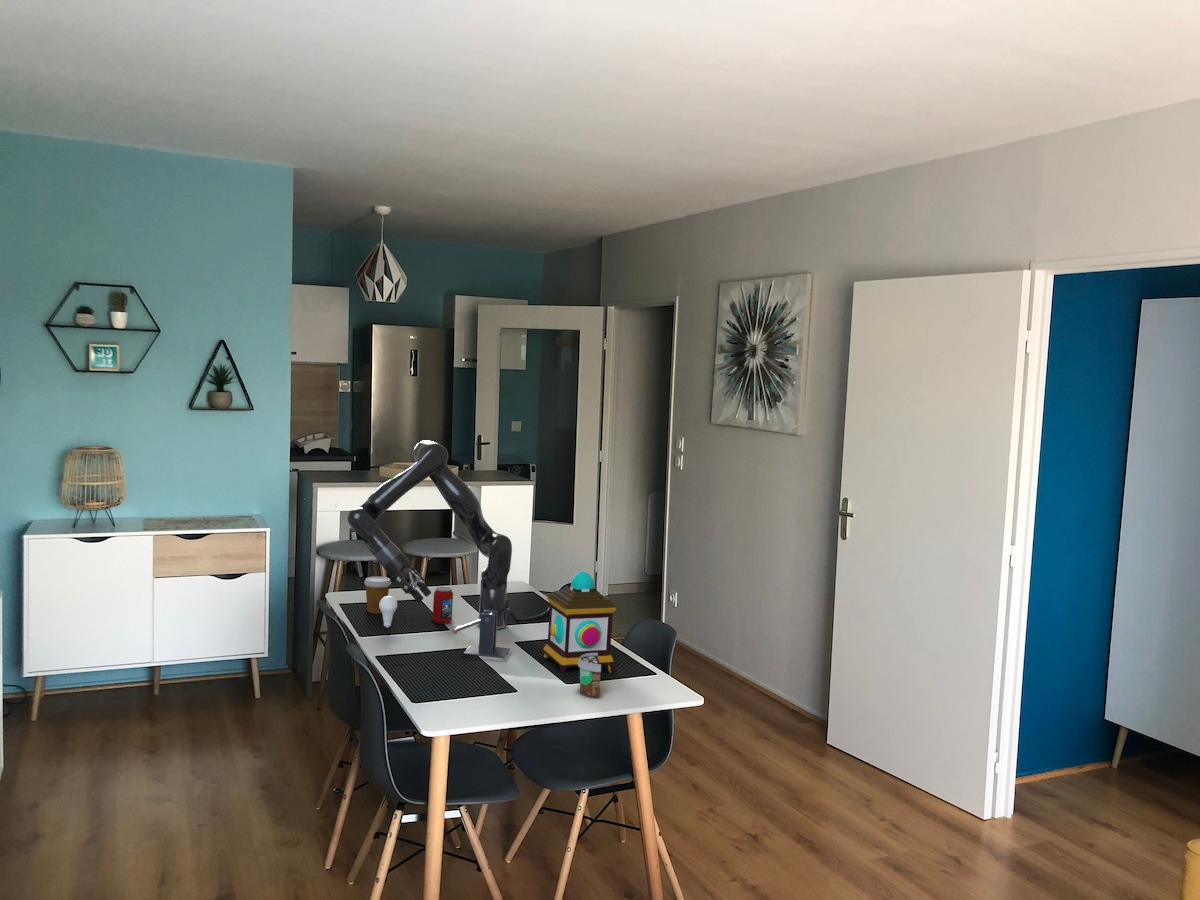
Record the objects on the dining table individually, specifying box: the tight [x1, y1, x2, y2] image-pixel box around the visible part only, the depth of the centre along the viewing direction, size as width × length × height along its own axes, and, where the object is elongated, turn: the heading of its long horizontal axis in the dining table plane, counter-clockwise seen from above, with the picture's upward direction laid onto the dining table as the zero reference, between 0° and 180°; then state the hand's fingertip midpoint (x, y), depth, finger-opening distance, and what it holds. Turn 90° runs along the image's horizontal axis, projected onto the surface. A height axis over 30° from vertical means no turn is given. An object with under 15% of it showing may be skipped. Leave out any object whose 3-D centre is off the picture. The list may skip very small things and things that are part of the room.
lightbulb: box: [379, 595, 398, 629], centre depth 322 cm, size 6×6×11 cm
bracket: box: [462, 610, 511, 659], centre depth 298 cm, size 13×10×14 cm
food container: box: [577, 653, 602, 699], centre depth 269 cm, size 12×6×10 cm, turn 5°
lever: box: [452, 613, 493, 635], centre depth 298 cm, size 13×6×2 cm, turn 84°
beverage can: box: [432, 586, 454, 624], centre depth 334 cm, size 7×7×12 cm
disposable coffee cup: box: [363, 576, 392, 614], centre depth 343 cm, size 10×10×12 cm
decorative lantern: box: [542, 570, 617, 674], centre depth 292 cm, size 20×20×30 cm
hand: (425, 597), depth 299 cm, fingers open, 8 cm apart
